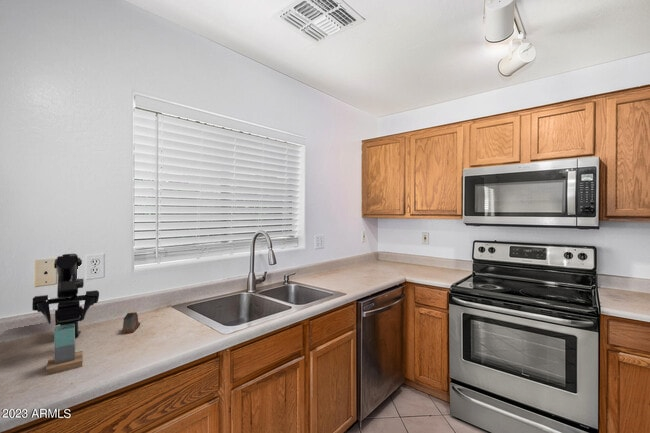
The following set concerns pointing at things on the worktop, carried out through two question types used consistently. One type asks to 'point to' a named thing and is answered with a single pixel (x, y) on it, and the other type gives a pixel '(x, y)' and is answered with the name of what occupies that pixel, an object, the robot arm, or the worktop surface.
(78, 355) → the stand
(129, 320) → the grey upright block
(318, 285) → the worktop surface
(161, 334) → the worktop surface
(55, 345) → the teal block grey base
